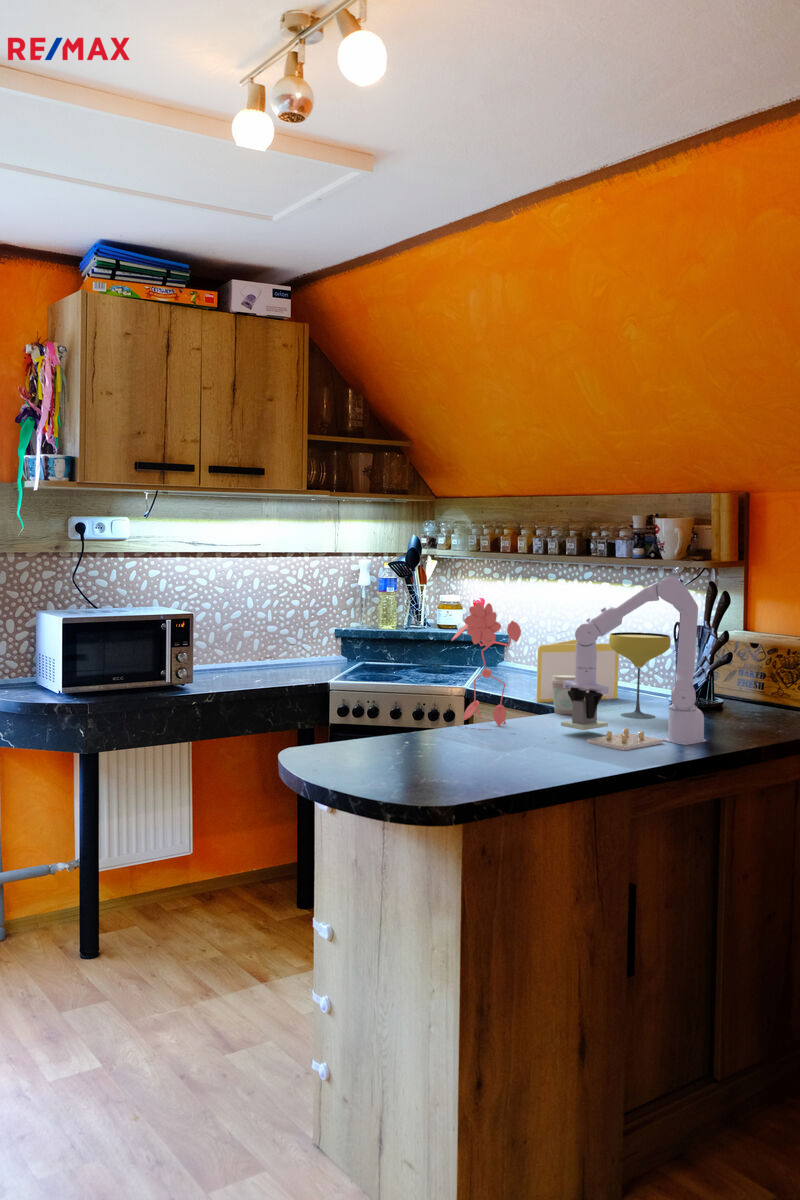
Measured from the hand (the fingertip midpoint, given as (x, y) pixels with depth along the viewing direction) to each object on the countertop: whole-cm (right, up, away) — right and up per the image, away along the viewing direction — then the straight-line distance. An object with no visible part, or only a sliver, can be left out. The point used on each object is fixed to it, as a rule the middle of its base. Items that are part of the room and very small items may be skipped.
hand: (584, 717), depth 273 cm
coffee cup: (0, -3, +32) cm, 32 cm away
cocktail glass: (+22, -4, +31) cm, 38 cm away
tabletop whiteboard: (+10, -2, +62) cm, 63 cm away
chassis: (+9, -6, -11) cm, 15 cm away
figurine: (-28, -4, +12) cm, 31 cm away
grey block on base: (0, -3, 0) cm, 2 cm away
